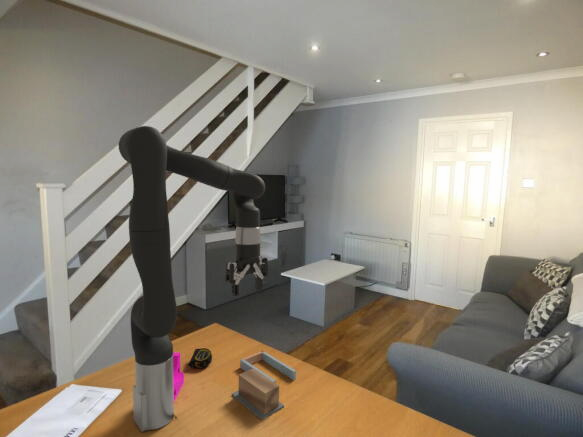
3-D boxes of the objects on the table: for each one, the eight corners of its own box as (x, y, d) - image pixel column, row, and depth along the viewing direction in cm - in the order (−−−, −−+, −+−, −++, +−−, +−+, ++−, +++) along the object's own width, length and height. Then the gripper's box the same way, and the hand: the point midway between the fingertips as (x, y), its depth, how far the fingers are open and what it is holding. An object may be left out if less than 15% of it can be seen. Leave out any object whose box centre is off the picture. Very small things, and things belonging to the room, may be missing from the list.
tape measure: (195, 354, 120) (195, 346, 119) (214, 356, 120) (214, 348, 118) (188, 369, 114) (187, 360, 113) (208, 371, 113) (207, 362, 112)
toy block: (172, 404, 96) (172, 379, 95) (150, 404, 96) (149, 379, 95) (188, 374, 111) (188, 352, 110) (168, 374, 111) (168, 352, 110)
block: (264, 414, 92) (265, 393, 91) (238, 394, 100) (238, 374, 100) (278, 406, 95) (279, 386, 95) (252, 387, 104) (252, 368, 103)
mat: (261, 420, 90) (261, 418, 90) (231, 395, 100) (231, 393, 100) (284, 406, 96) (284, 405, 96) (253, 384, 106) (253, 383, 106)
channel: (272, 391, 103) (273, 382, 102) (240, 368, 115) (240, 359, 115) (295, 379, 109) (296, 370, 109) (262, 358, 121) (262, 350, 121)
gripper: (259, 237, 112) (258, 285, 113) (220, 241, 102) (220, 294, 104) (273, 240, 106) (272, 291, 108) (235, 245, 96) (234, 301, 98)
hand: (247, 293), depth 106 cm, fingers open, 8 cm apart
